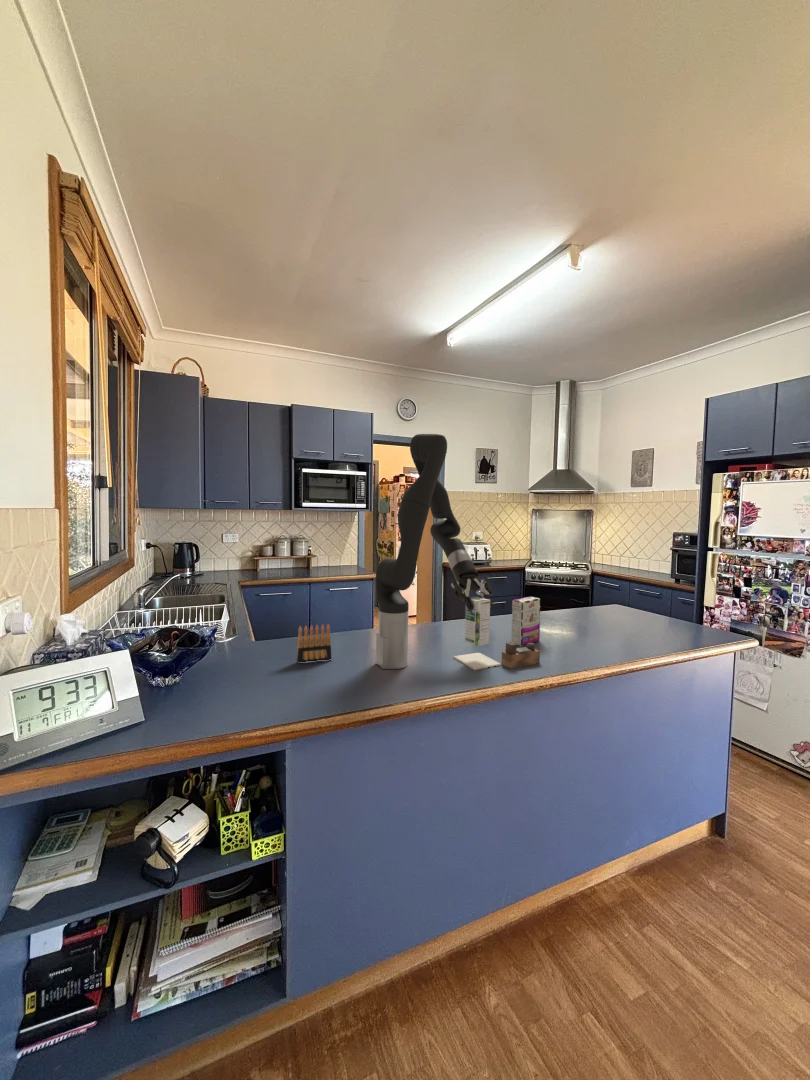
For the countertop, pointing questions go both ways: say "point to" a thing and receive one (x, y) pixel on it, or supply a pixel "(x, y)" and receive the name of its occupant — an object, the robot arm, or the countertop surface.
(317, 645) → the ammunition clip
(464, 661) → the mat
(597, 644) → the countertop surface
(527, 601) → the candy bar box
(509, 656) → the body
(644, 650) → the countertop surface
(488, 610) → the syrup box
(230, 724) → the countertop surface
